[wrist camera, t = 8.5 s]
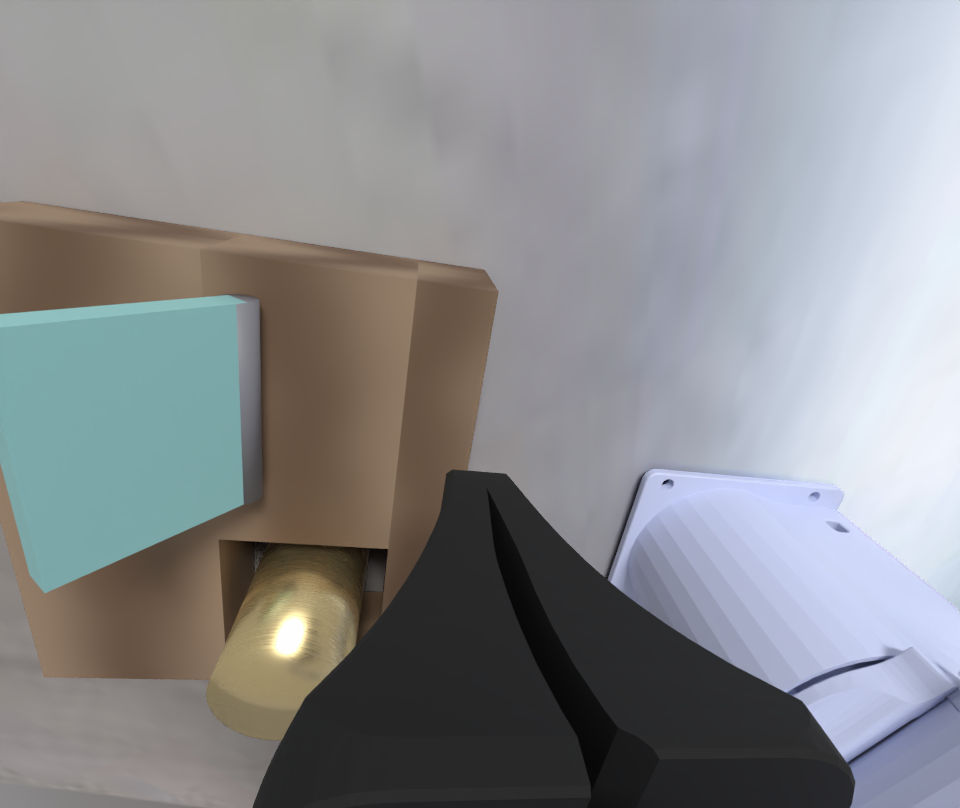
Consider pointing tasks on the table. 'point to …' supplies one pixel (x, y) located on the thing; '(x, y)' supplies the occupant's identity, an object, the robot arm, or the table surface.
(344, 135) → the table surface
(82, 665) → the block
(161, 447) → the teal flat square block
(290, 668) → the peg
